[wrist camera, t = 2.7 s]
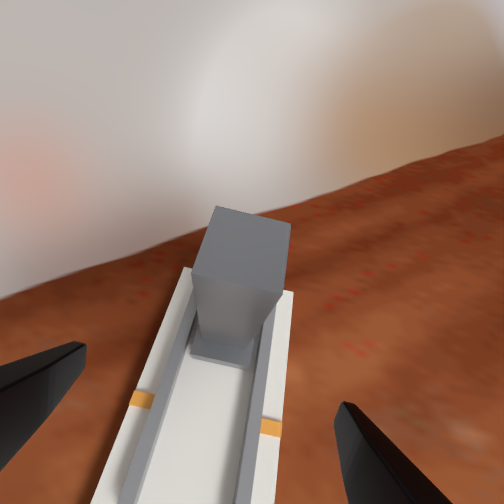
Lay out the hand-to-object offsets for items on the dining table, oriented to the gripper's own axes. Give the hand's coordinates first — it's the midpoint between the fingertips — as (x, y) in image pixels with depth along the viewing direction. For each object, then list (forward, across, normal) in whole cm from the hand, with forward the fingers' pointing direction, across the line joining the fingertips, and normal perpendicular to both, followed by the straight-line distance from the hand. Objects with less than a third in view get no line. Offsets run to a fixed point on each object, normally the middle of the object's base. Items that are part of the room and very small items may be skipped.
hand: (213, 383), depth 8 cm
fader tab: (+10, 0, +4) cm, 10 cm away
